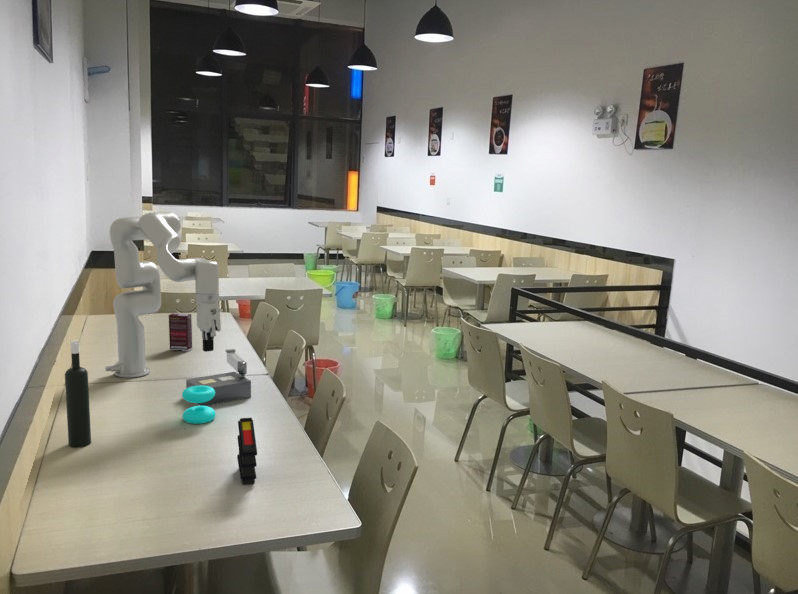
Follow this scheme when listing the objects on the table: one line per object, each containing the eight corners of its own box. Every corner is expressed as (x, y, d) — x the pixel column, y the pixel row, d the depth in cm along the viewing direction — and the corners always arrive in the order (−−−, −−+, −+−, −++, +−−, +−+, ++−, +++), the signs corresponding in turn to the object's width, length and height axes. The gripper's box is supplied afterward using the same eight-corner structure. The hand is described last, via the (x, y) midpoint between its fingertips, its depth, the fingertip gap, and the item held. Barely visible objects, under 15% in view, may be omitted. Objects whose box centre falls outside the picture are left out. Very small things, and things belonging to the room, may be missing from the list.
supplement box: (192, 349, 293) (192, 313, 290) (188, 351, 288) (187, 315, 286) (173, 347, 294) (172, 312, 291) (169, 350, 289) (168, 314, 286)
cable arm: (248, 373, 236) (248, 361, 235) (239, 375, 235) (239, 362, 234) (234, 360, 252) (234, 349, 251) (225, 361, 251) (225, 349, 250)
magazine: (250, 455, 181) (253, 416, 173) (255, 495, 171) (258, 455, 163) (236, 456, 180) (238, 417, 172) (240, 496, 170) (242, 456, 161)
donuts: (216, 392, 206) (182, 395, 203) (217, 423, 208) (183, 426, 204) (213, 383, 215) (181, 385, 212) (214, 412, 217) (181, 415, 214)
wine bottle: (66, 448, 186) (61, 343, 180) (70, 440, 191) (65, 338, 186) (89, 446, 187) (84, 343, 182) (92, 439, 193) (87, 338, 187)
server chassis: (201, 406, 222) (201, 387, 221) (186, 396, 232) (186, 377, 231) (256, 396, 234) (256, 378, 233) (240, 386, 244) (240, 369, 243)
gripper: (227, 300, 220) (227, 354, 224) (209, 293, 232) (209, 344, 235) (205, 302, 216) (206, 357, 219) (188, 295, 227) (189, 347, 231)
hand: (208, 350), depth 227 cm, fingers closed
